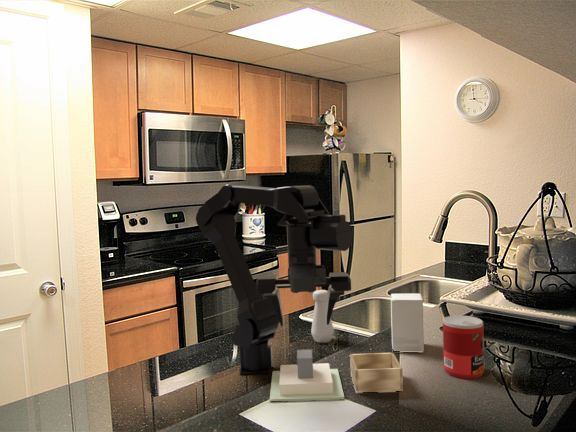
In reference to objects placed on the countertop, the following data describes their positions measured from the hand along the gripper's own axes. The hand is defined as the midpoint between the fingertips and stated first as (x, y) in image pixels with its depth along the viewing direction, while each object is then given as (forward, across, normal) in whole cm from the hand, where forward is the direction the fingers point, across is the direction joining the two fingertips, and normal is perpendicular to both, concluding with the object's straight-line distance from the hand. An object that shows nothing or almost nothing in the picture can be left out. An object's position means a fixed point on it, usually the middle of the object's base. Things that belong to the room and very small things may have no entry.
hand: (304, 325), depth 99 cm
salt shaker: (+12, +4, +27) cm, 30 cm away
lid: (+12, 0, -1) cm, 12 cm away
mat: (+12, 0, -1) cm, 12 cm away
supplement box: (+12, +24, +19) cm, 33 cm away
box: (+12, +14, -1) cm, 18 cm away
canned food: (+12, +33, +3) cm, 35 cm away
